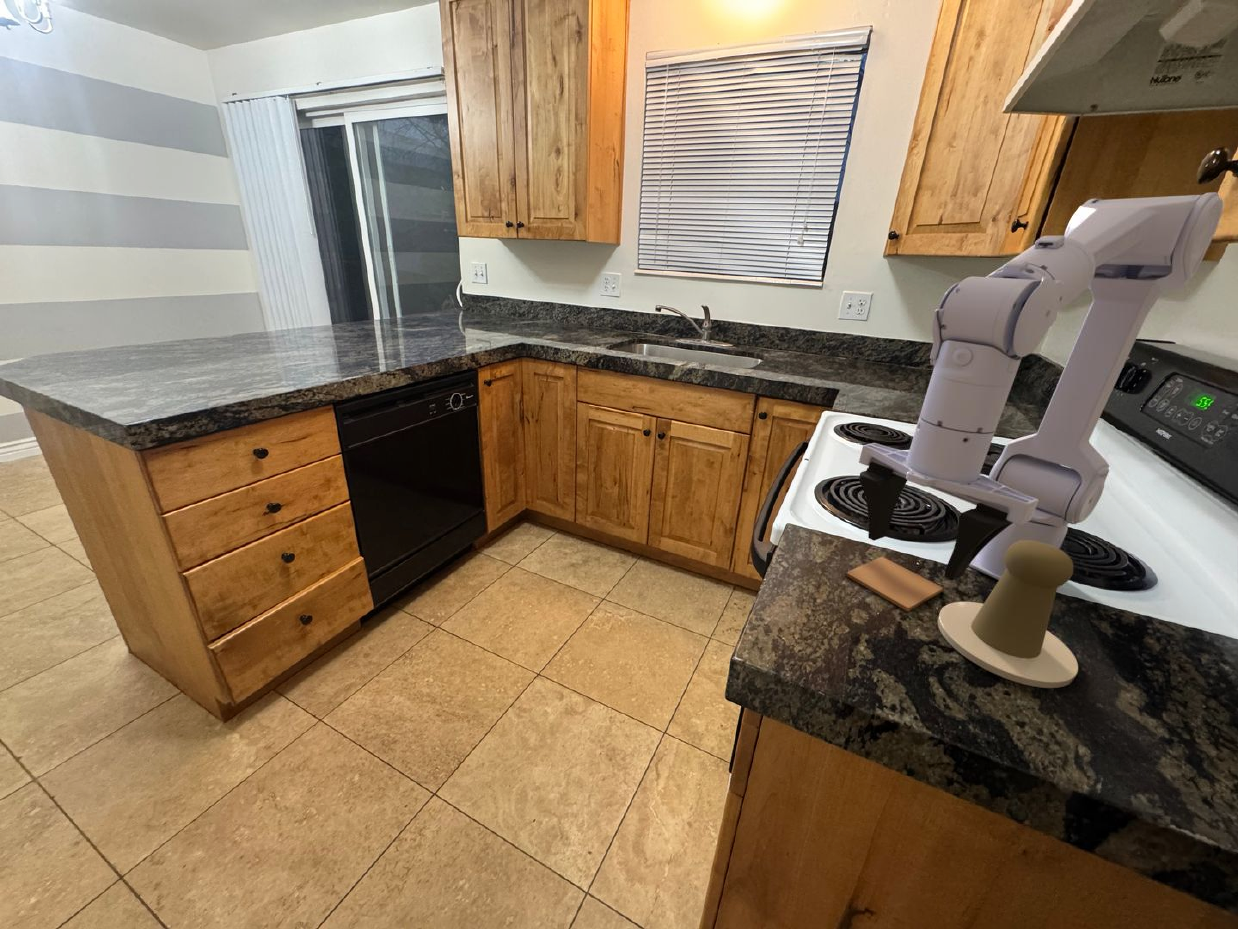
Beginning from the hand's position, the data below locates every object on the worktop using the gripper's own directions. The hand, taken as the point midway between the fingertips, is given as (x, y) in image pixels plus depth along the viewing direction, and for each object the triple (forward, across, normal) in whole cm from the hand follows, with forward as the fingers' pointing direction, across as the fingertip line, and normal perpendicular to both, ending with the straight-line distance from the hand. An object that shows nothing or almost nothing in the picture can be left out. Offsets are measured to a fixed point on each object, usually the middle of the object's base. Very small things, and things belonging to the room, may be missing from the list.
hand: (912, 555), depth 49 cm
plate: (+10, +7, +11) cm, 16 cm away
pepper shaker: (+10, +7, +11) cm, 16 cm away
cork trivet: (+10, -5, +10) cm, 15 cm away
